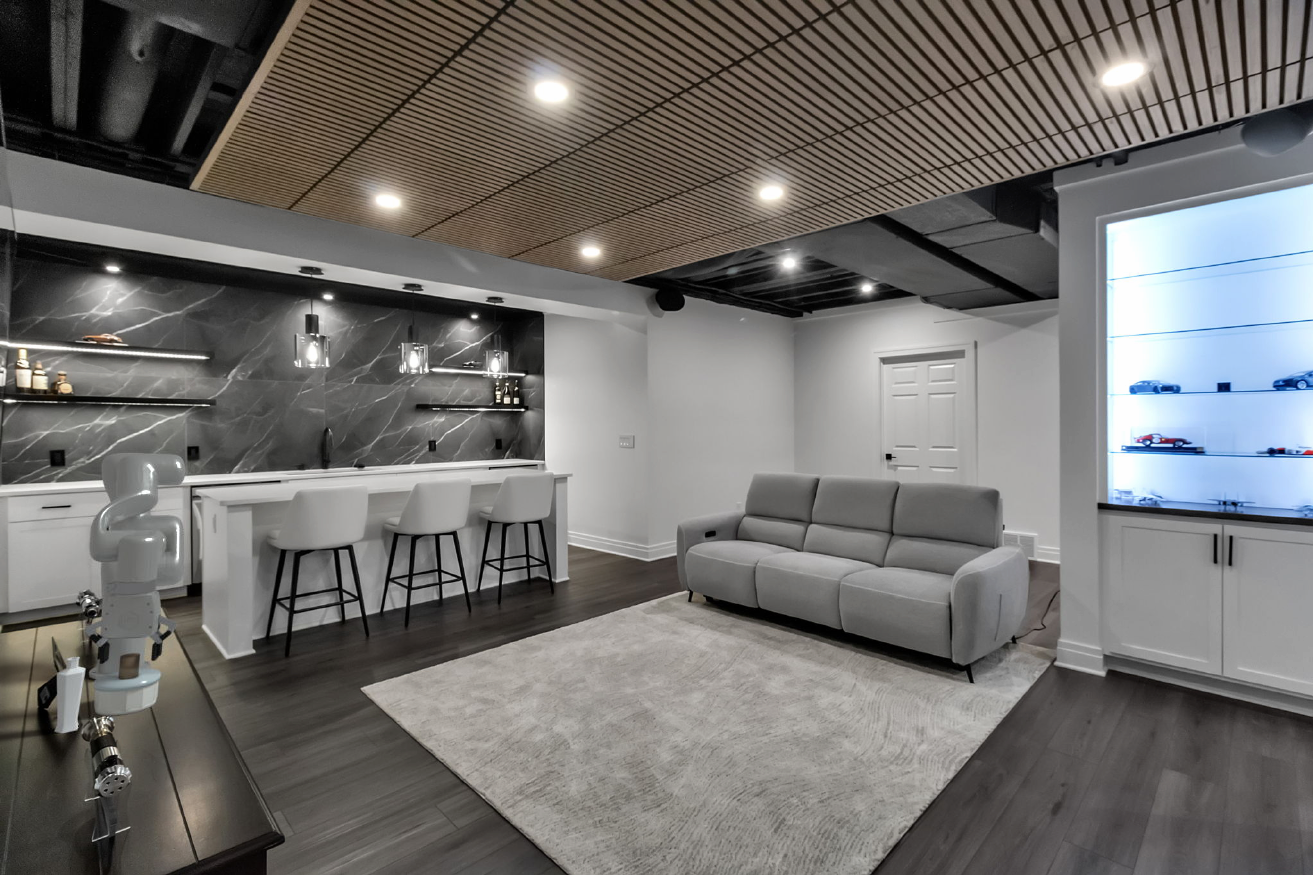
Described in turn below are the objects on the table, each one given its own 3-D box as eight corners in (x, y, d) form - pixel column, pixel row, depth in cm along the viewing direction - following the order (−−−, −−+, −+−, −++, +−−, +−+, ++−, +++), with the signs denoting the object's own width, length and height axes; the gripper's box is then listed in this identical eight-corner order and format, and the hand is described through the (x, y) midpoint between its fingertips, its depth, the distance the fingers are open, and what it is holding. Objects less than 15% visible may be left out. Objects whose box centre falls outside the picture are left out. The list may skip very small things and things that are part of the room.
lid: (106, 675, 151) (108, 649, 152) (167, 671, 156) (169, 646, 156) (84, 693, 140) (86, 665, 141) (150, 688, 145) (152, 661, 145)
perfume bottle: (87, 726, 137) (93, 657, 137) (62, 735, 132) (68, 662, 133) (73, 722, 138) (79, 653, 139) (49, 730, 134) (55, 659, 134)
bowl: (106, 699, 151) (107, 676, 151) (162, 695, 155) (164, 672, 155) (86, 718, 141) (88, 693, 141) (147, 712, 145) (149, 688, 145)
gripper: (81, 592, 142) (75, 668, 142) (175, 589, 149) (169, 663, 148) (95, 585, 149) (89, 658, 148) (184, 583, 156) (179, 653, 155)
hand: (129, 660), depth 148 cm, fingers open, 9 cm apart
